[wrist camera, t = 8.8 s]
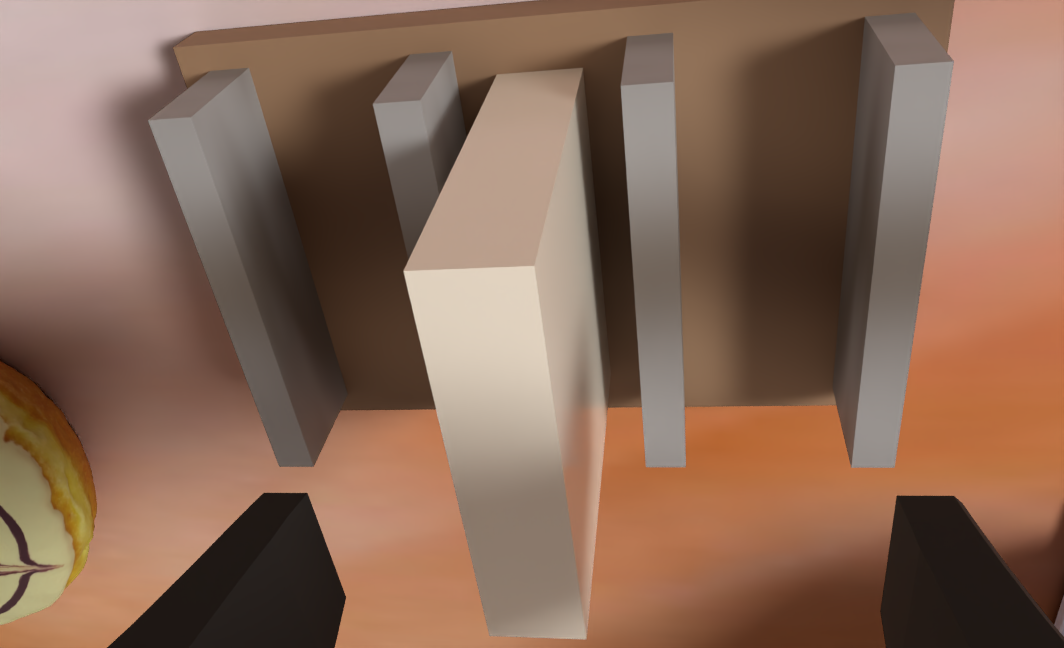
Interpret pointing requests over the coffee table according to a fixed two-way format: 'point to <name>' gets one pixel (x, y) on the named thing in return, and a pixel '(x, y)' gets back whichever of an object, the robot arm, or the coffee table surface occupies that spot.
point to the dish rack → (619, 186)
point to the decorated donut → (39, 499)
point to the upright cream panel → (521, 350)
